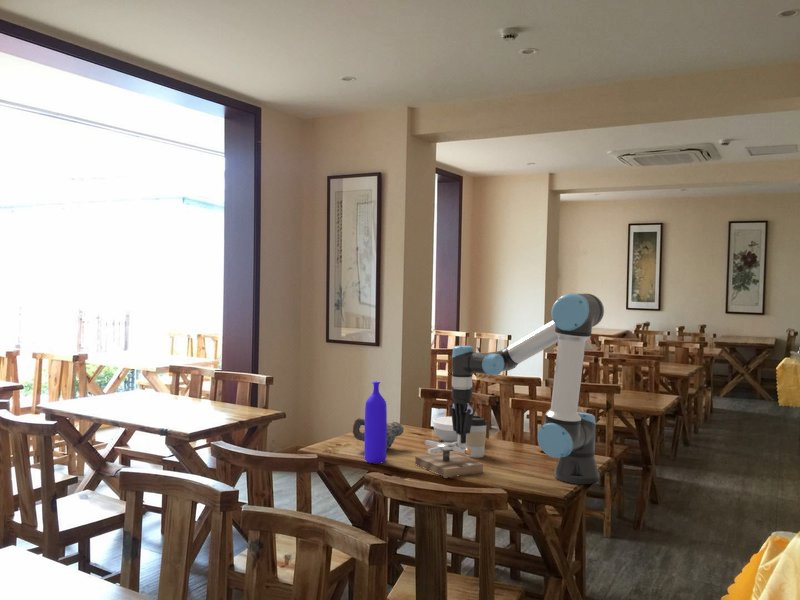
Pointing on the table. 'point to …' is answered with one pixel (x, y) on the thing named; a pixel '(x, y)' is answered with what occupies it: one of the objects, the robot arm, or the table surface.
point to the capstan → (446, 447)
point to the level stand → (449, 464)
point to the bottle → (375, 427)
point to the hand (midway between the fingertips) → (461, 451)
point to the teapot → (392, 431)
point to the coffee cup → (476, 437)
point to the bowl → (445, 429)
